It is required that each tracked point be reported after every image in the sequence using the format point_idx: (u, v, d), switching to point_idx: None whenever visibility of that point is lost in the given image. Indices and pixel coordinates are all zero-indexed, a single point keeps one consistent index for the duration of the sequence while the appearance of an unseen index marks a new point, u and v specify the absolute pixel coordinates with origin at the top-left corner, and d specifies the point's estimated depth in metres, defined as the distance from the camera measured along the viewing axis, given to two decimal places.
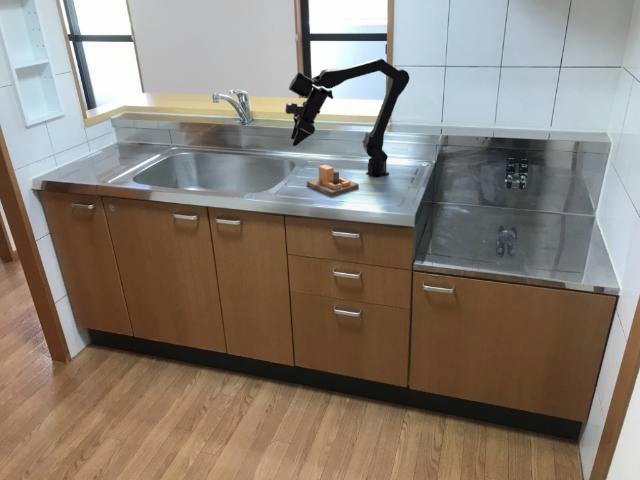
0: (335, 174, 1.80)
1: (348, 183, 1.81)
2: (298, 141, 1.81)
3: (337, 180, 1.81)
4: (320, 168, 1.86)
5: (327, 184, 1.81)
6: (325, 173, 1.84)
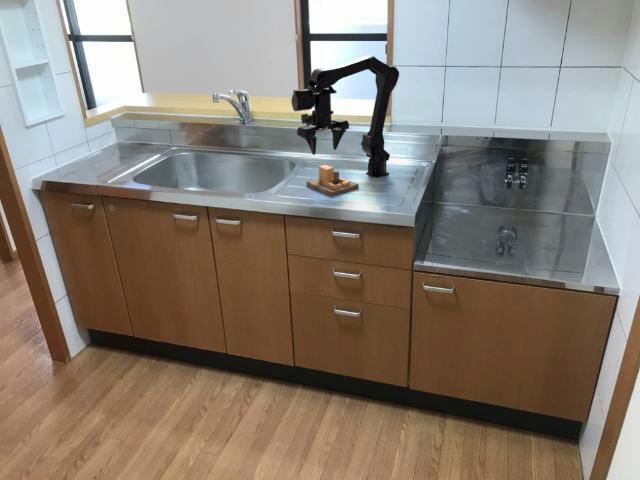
0: (335, 174, 1.80)
1: (348, 183, 1.81)
2: (312, 149, 1.79)
3: (337, 180, 1.81)
4: (320, 168, 1.86)
5: (327, 184, 1.81)
6: (325, 173, 1.84)
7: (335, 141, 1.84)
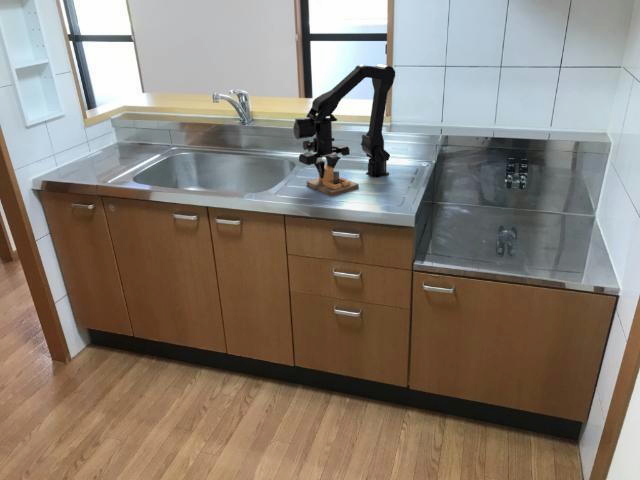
0: (335, 174, 1.80)
1: (348, 183, 1.81)
2: (320, 173, 1.84)
3: (337, 180, 1.81)
4: None
5: (327, 184, 1.81)
6: (325, 173, 1.84)
7: None
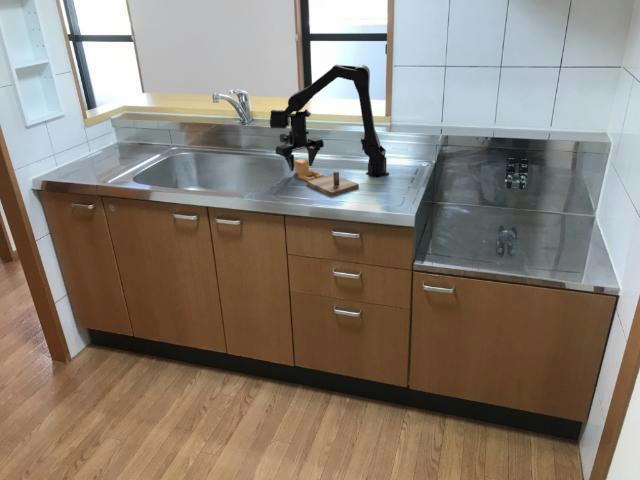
0: (335, 174, 1.80)
1: (322, 176, 1.94)
2: (290, 166, 1.95)
3: (337, 180, 1.81)
4: (296, 162, 1.98)
5: (302, 177, 1.94)
6: (300, 166, 1.96)
7: (310, 158, 2.00)
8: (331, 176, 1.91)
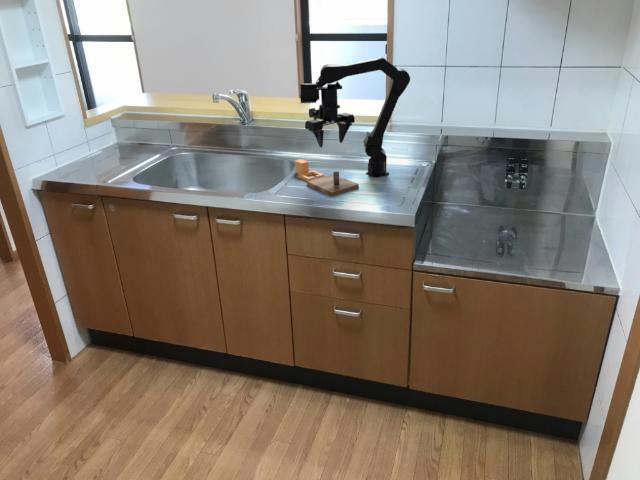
0: (335, 174, 1.80)
1: (322, 176, 1.94)
2: (319, 142, 1.86)
3: (337, 180, 1.81)
4: (296, 162, 1.98)
5: (302, 177, 1.94)
6: (300, 166, 1.96)
7: (341, 134, 1.91)
8: (331, 176, 1.91)
